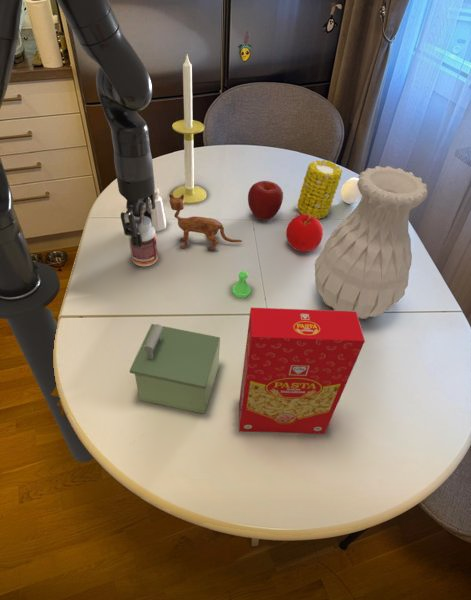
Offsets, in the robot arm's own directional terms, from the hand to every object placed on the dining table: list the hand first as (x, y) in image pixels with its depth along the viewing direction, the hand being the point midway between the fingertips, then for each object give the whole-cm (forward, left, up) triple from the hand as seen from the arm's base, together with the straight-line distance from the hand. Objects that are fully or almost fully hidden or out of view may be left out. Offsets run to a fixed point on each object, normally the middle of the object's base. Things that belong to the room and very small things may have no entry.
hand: (142, 237), depth 97 cm
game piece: (+25, -5, -7) cm, 26 cm away
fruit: (+37, +16, -7) cm, 41 cm away
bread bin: (+19, -32, -7) cm, 38 cm away
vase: (+50, -1, -7) cm, 50 cm away
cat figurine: (+13, +10, -7) cm, 18 cm away
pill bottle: (0, 0, -7) cm, 7 cm away
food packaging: (+38, -35, -7) cm, 52 cm away
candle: (+2, +32, -7) cm, 33 cm away
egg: (+49, +42, -7) cm, 65 cm away
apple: (+25, +27, -7) cm, 37 cm away
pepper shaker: (-2, +14, -7) cm, 16 cm away
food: (+39, +34, -7) cm, 52 cm away
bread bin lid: (+18, -32, +1) cm, 37 cm away
